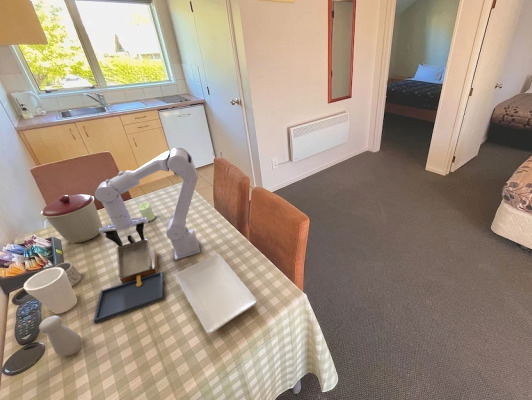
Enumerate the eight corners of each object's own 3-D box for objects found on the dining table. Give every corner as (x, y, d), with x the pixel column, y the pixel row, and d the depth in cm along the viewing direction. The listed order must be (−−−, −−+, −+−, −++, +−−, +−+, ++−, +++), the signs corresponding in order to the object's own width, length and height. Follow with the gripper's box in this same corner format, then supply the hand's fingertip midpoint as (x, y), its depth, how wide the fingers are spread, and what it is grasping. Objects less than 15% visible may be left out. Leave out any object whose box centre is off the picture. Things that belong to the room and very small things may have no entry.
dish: (148, 237, 106) (144, 231, 101) (152, 268, 99) (148, 263, 95) (118, 245, 102) (113, 239, 98) (121, 278, 95) (115, 273, 91)
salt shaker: (69, 340, 79) (45, 312, 72) (89, 338, 79) (67, 310, 72) (54, 360, 74) (26, 332, 67) (75, 358, 74) (50, 330, 67)
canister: (70, 253, 112) (42, 212, 101) (54, 239, 120) (26, 199, 109) (117, 231, 125) (96, 192, 114) (99, 219, 133) (78, 182, 122)
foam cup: (62, 320, 85) (39, 292, 78) (39, 315, 86) (14, 287, 80) (89, 296, 92) (71, 269, 86) (68, 292, 94) (48, 265, 87)
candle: (151, 221, 131) (145, 207, 126) (141, 221, 131) (135, 207, 127) (157, 215, 135) (151, 202, 131) (147, 215, 135) (141, 202, 131)
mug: (79, 272, 102) (71, 259, 99) (82, 281, 98) (73, 268, 95) (45, 286, 96) (35, 273, 93) (46, 297, 92) (35, 284, 89)
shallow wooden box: (157, 255, 110) (155, 249, 108) (157, 274, 101) (154, 268, 99) (126, 264, 106) (123, 258, 104) (123, 285, 96) (119, 279, 95)
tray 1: (163, 273, 101) (162, 271, 100) (163, 299, 91) (162, 296, 90) (102, 293, 93) (100, 290, 93) (95, 323, 83) (93, 320, 83)
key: (135, 276, 97) (135, 276, 97) (141, 275, 98) (141, 274, 98) (136, 287, 95) (136, 287, 94) (142, 285, 96) (141, 285, 95)
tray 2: (209, 341, 78) (206, 334, 76) (176, 280, 98) (173, 273, 96) (260, 308, 87) (258, 301, 85) (220, 258, 108) (218, 252, 106)
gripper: (142, 203, 101) (154, 231, 108) (95, 213, 95) (111, 242, 102) (141, 212, 95) (153, 241, 102) (92, 223, 90) (108, 253, 97)
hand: (132, 242), depth 102 cm, fingers closed on dish, 6 cm apart
